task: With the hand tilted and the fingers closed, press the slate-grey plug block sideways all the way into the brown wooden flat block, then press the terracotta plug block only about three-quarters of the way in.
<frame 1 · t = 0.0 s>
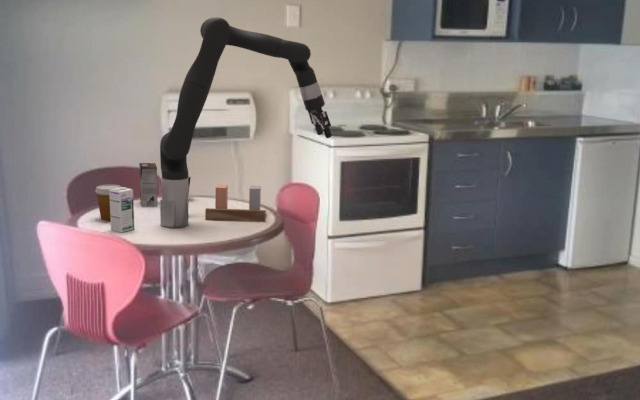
hand: (324, 136, 256), 31 cm above the table, tool tilted 20°, fingers open, 8 cm apart
syrup box: (122, 230, 233), on the table
terracotta plug: (221, 198, 262), point 5 cm above the table, slide at 0.0 cm
slate plug: (255, 199, 262), point 5 cm above the table, slide at 0.0 cm
brown wooden flat block: (236, 215, 258), on the table
disposable coffee cup: (109, 219, 246), on the table
coffee box: (148, 204, 271), on the table
coffee mug: (177, 201, 279), on the table
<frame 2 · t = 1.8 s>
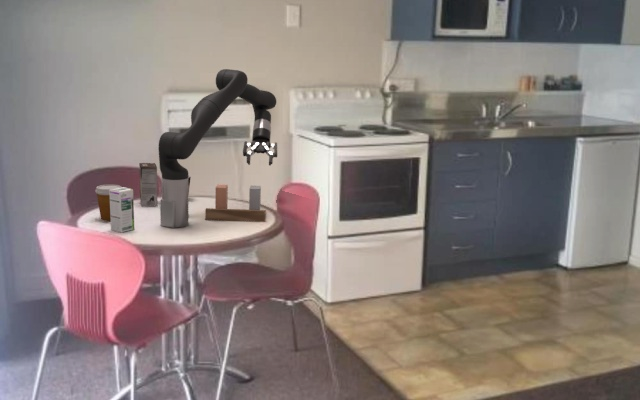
hand: (259, 164, 276), 17 cm above the table, tool tilted 45°, fingers open, 8 cm apart
nothing on the table moved.
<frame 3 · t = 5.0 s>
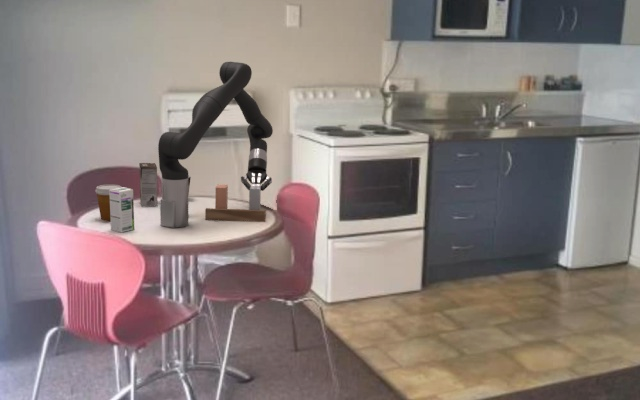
hand: (255, 198, 265), 5 cm above the table, tool tilted 45°, fingers closed
slate plug: (254, 200, 262), point 5 cm above the table, slide at 0.5 cm, touching gripper
everything else where it was.
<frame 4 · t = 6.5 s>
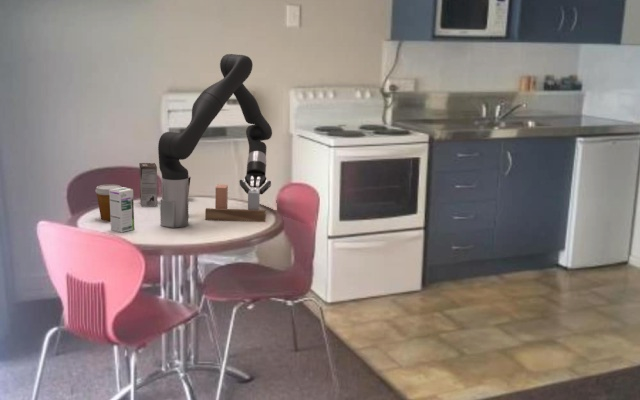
hand: (253, 202, 258), 5 cm above the table, tool tilted 45°, fingers closed
slate plug: (253, 204, 255), point 5 cm above the table, slide at 7.5 cm, touching gripper
everything else where it was.
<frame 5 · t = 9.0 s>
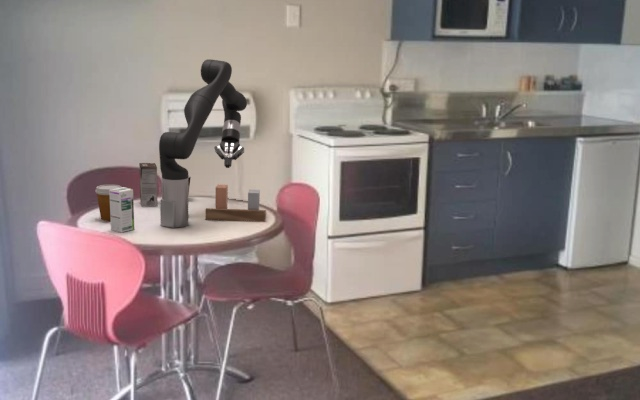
hand: (227, 166, 275), 15 cm above the table, tool tilted 45°, fingers closed
slate plug: (253, 204, 255), point 5 cm above the table, slide at 7.5 cm
everything else where it was.
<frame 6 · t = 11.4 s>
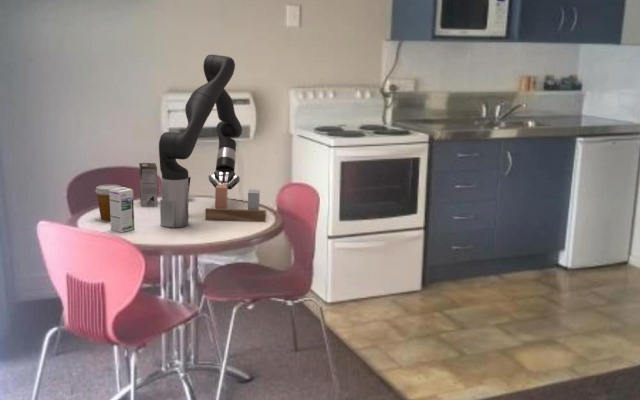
hand: (222, 197, 265), 5 cm above the table, tool tilted 45°, fingers closed
terracotta plug: (221, 198, 261), point 5 cm above the table, slide at 0.4 cm, touching gripper
everything else where it was.
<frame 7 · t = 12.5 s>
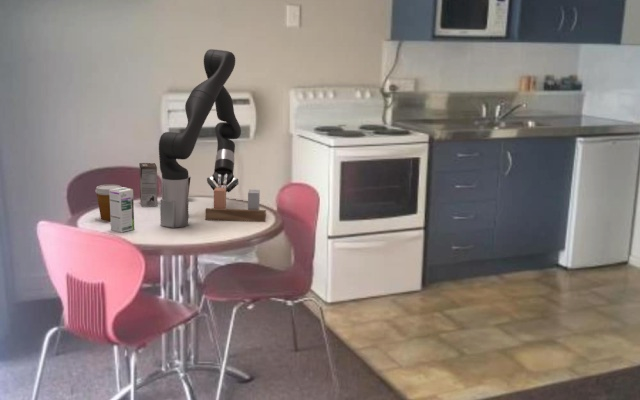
hand: (220, 199, 260), 5 cm above the table, tool tilted 45°, fingers closed
terracotta plug: (219, 201, 257), point 5 cm above the table, slide at 5.4 cm, touching gripper
everything else where it was.
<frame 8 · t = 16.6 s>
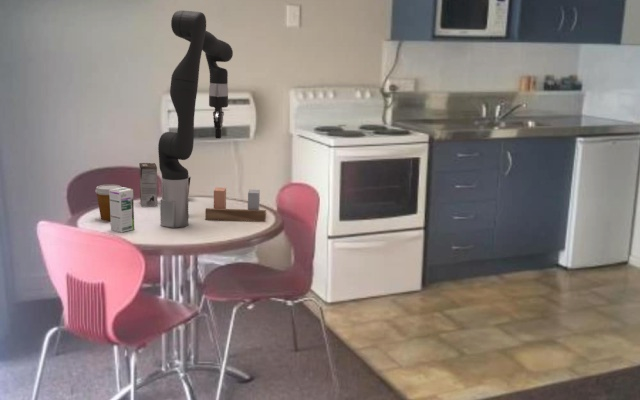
hand: (218, 138, 271), 27 cm above the table, tool pointing down, fingers closed
terracotta plug: (219, 201, 256), point 5 cm above the table, slide at 5.5 cm
everything else where it was.
at the end: slate plug slide at 7.5 cm; terracotta plug slide at 5.5 cm; terracotta plug touching nothing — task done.
